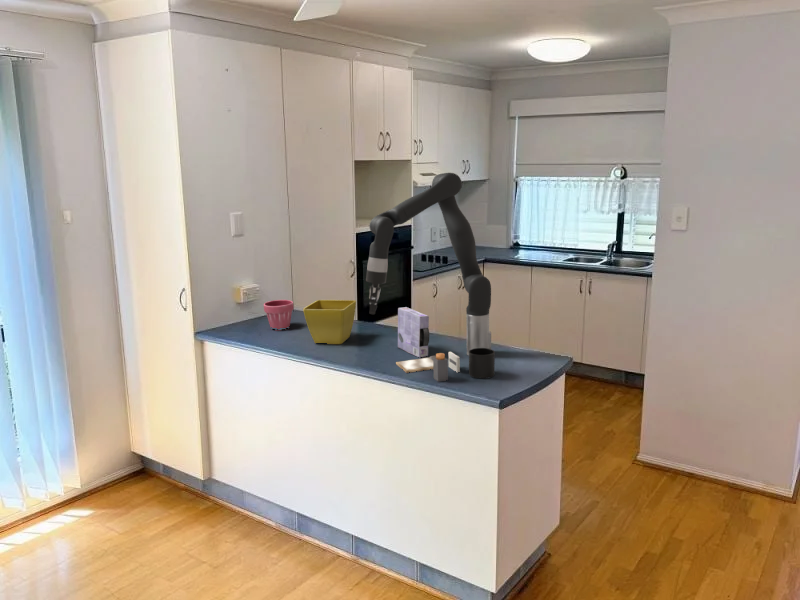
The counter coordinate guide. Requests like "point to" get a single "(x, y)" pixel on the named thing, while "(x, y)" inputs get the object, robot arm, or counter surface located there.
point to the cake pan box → (413, 332)
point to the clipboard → (416, 364)
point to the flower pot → (330, 320)
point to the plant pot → (279, 313)
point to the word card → (454, 362)
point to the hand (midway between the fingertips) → (372, 312)
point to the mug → (481, 363)
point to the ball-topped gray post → (440, 367)
